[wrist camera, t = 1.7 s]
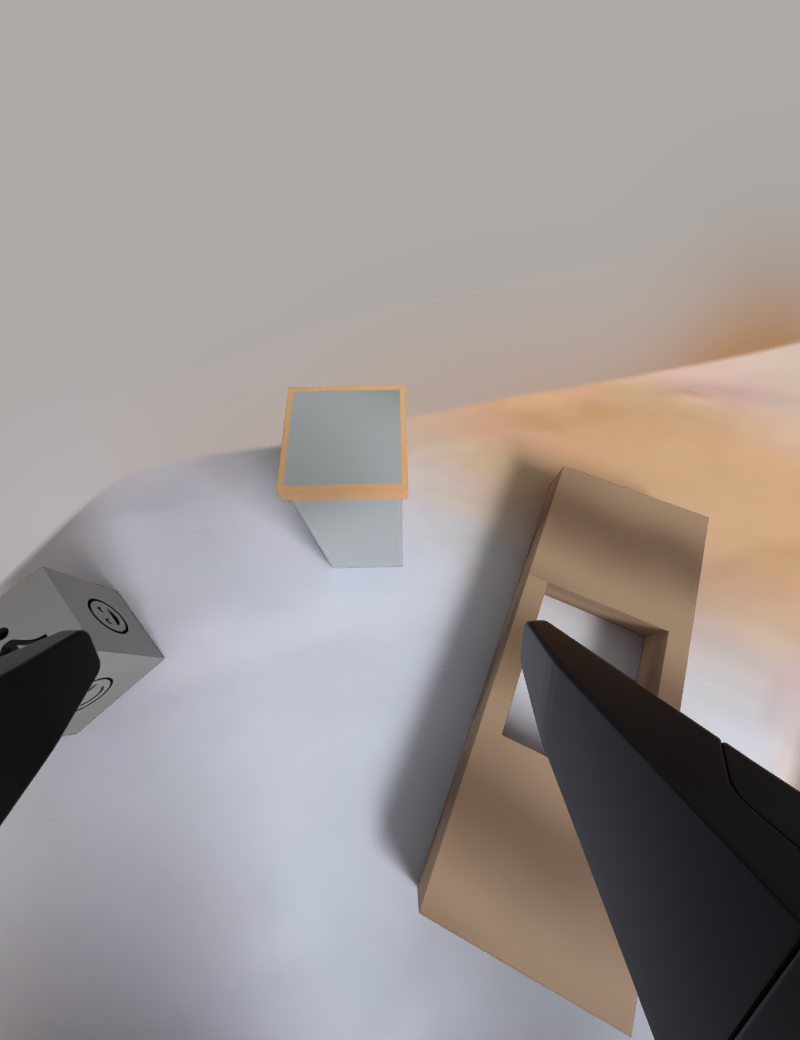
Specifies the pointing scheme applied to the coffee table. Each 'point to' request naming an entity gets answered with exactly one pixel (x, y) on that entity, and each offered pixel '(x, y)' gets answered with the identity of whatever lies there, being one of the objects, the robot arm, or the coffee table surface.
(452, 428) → the coffee table surface
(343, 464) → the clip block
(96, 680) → the grey marked cube
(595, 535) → the wooden socket base
